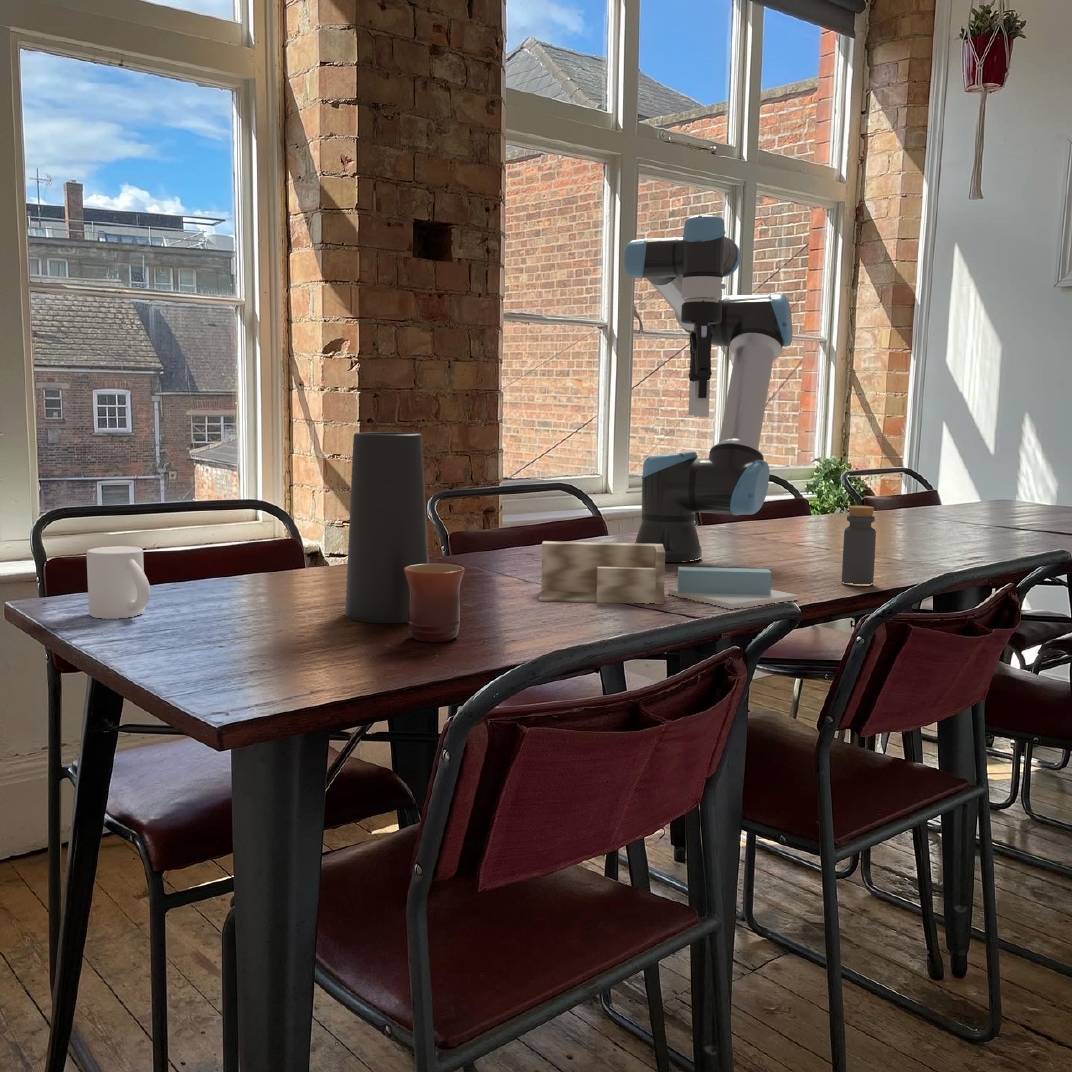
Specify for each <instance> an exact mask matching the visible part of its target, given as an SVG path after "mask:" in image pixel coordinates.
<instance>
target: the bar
mask: <svg viewBox="0 0 1072 1072" xmlns="http://www.w3.org/2000/svg"><path fill="white" fill-rule="evenodd" d="M676 585H677V587H676V588H677V589H678V592H679V593H707V594H746V595H771V590H772V571H771V570H770V569H769V568H747V567H746V568H744V567H743V568H742V567H739V568H737V567H706V566H705V567H701V566H700V567H698V566H677V583H676Z"/></svg>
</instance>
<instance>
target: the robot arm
mask: <svg viewBox="0 0 1072 1072" xmlns="http://www.w3.org/2000/svg"><path fill="white" fill-rule="evenodd" d="M725 225H726V224H725V220H724V219H723V218H722V217H721V216H717V215H706V214H705V215H694V216H691V217H688V218H687V219H686V220H685V221H684V226H683V235H682V237H681V236H680V237H663V238H662V237H661V238H660V237H657V238H647V237H644V238H643V239H642V238H641V239H634V240H630V241H629V242H628V243H627V244H626V247H625V248H624V249H625V250H624V259H623V260H624V269H625V273H626V274H627V276H628V277H629V278H632V279H640V280H641V279H646V280H648V282H650V283H651V285H652V286H653V287H654V288H655V290H656V291H657V292H658V293H659V294H660V295H661V297H662V298H663V300H665V302H666V303H667V304H668V305H669V307H670V308H671V309H672V311H674V315H675V319H676V322H677V323H678V325H679V326H680V327H681V328H682V330H683V331H685V332H686V333H688V334H689V355H690V358H689V373H688V378H689V383H688V384H689V385H688V386H689V387H688V388H689V389H688V390H689V391H688V414H687V415H688V416H693V417H695V418H696V417H701V418H702V417H704V418H705V417H706V418H708V417H710V393H711V391H710V390H711V381H710V380H711V377H712V362H711V361H712V353H711V352H712V345H713V346H717V347H729V349H730V351H731V353H732V354H733V355H734V358H733V363H732V370H731V374H730V380H729V386H728V392H727V396H726V402H725V408H724V413H723V418H722V423H721V428H720V433H719V440H718V443H717V444H715V445H712V447H711V448H710V450H709V454H708V458H698V456H699V455H698V453H697V452H696V451H686V452H677V453H667V454H666V453H665V454H658V455H651V456H648V457H646V458H645V459H644V460H643V465H642V476H641V480H642V482H641V520H640V521H641V522H640V526H639V529H638V531H637V535H636V538H635V543H642V544H663V547H664V550H665V562H682V561H690V560H695V559H698V558H700V557H702V554H703V553H702V552H703V550H702V545H700V540H699V536H698V532H697V528H696V524H695V523H696V521H695V518H696V513H705V514H717V515H718V514H719V515H723V514H724V515H733V516H740V515H741V516H742V515H748V516H749V515H750V516H751V515H755V514H756V513H757V512H758V511H760V509H761V508H762V506H763V505H764V503H765V500H766V497H767V494H768V490H769V485H770V484H769V480H770V466H769V464H768V462H767V461H765V460H764V459H765V456H764V454H763V453H762V451H760V450H759V447H760V440H761V434H762V429H763V423H764V417H765V413H766V412H765V411H766V405H767V401H768V400H767V399H768V394H769V388H770V387H769V386H770V382H771V377H772V371H773V370H772V369H773V364H774V361H776V360H777V359H779V357H781V354H782V351H783V347H784V348H785V347H786V348H787V347H790V346H791V345H792V343H793V321H792V320H793V319H792V312H791V307H790V306H791V305H790V301H789V299H788V298H787V296H786V295H784V294H781V293H777V294H776V293H769V292H767V293H766V294H730V295H729V294H723V290H726V288H727V287H726V286H727V285H726V284H725V283H722V282H723V281H724V280H723V279H724V278H725V277H729V276H730V275H732V274H733V273H735V272H736V271H737V269H738V268H739V266H740V263H741V259H742V258H741V251H740V248H739V247H738V244H737V243H735V241H734V240H733V239H731V238H729V237H727V236H726V229H725V227H726V226H725ZM682 563H683V562H682Z"/></svg>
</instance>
